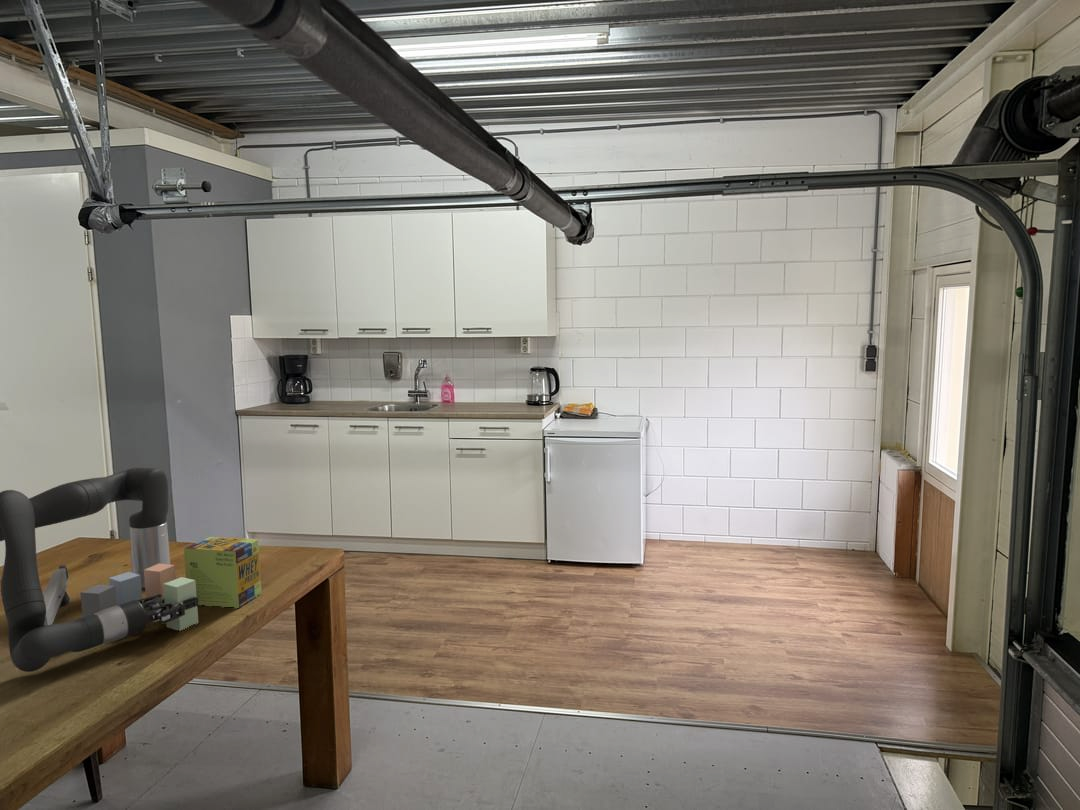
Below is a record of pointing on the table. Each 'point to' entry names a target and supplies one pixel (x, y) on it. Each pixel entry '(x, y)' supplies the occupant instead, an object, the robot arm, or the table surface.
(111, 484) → the robot arm
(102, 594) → the grey tall block
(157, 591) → the terracotta block
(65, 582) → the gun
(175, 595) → the sage block
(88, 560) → the table surface
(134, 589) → the slate block
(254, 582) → the protein box
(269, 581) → the table surface
